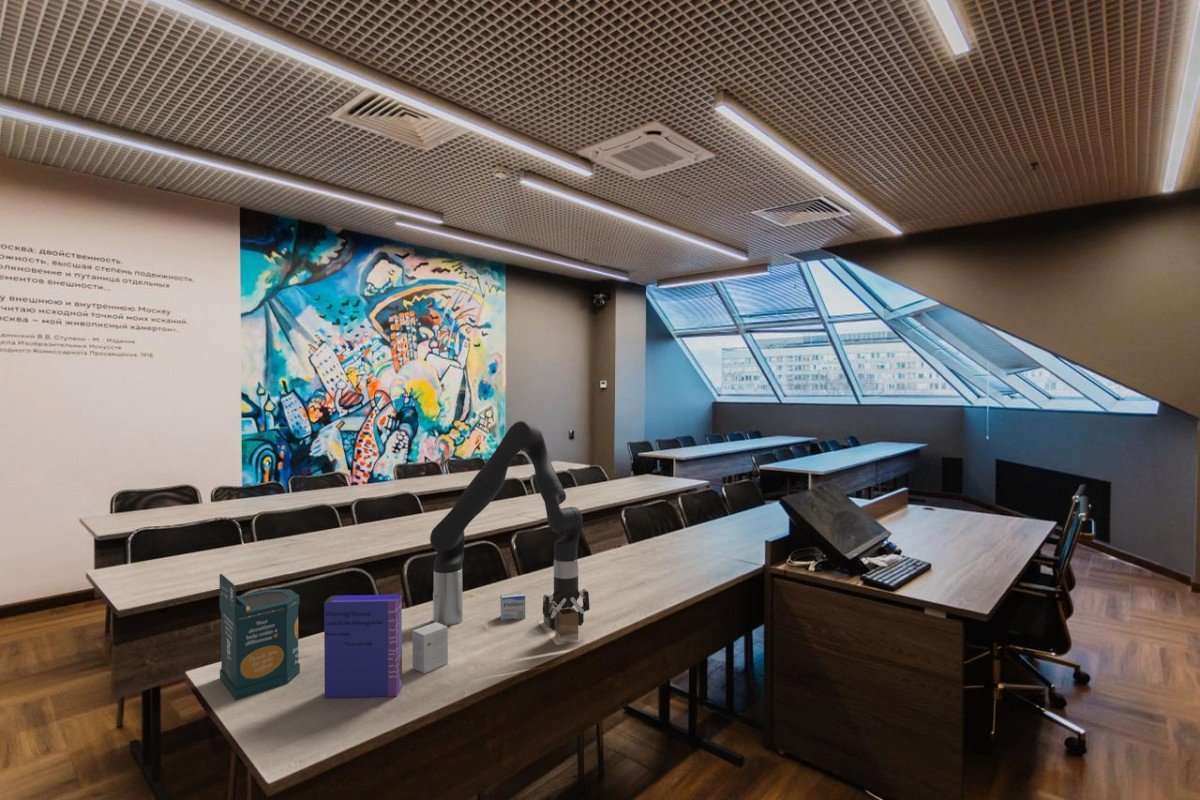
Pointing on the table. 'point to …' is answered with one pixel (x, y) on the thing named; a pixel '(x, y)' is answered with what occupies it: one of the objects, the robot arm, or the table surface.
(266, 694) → the table surface
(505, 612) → the medicine box
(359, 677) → the cereal box
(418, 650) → the small box
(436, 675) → the table surface
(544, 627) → the pin board
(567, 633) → the sleeve brown
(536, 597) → the table surface
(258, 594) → the donation box
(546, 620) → the wooden pen holder
